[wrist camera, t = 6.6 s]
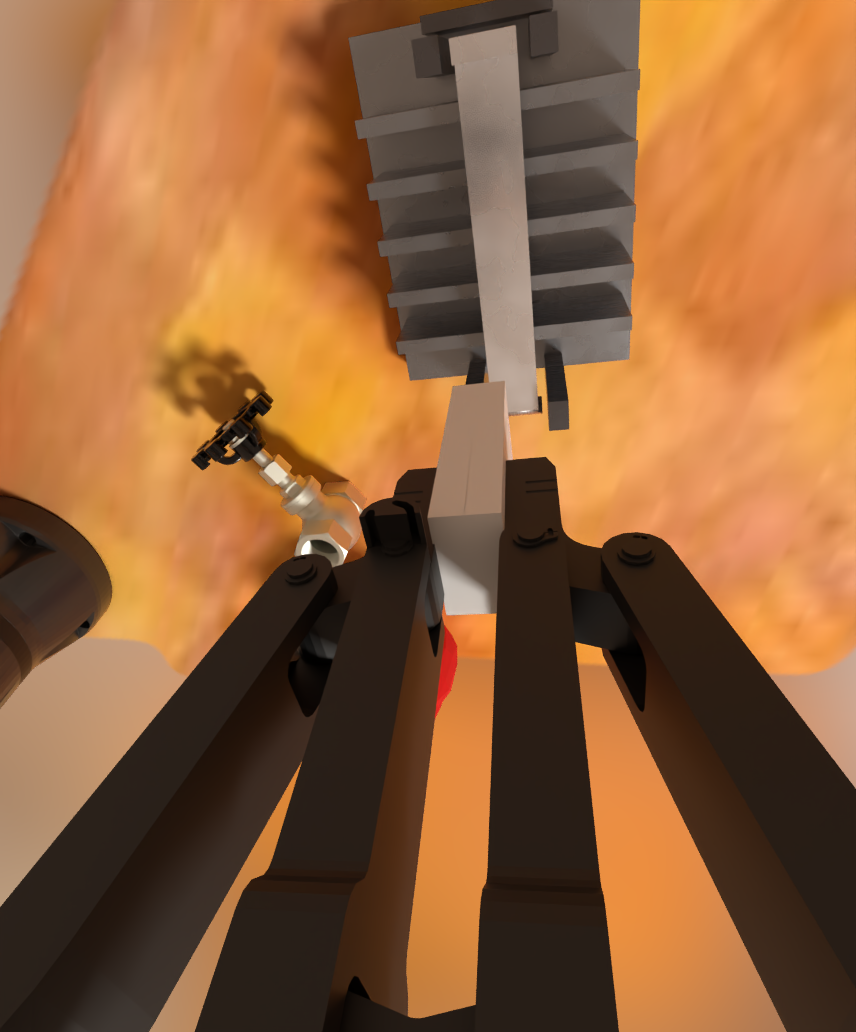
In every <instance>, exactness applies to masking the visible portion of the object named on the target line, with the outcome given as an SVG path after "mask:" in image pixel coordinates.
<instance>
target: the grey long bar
mask: <svg viewBox="0 0 856 1032" xmlns="http://www.w3.org/2000/svg"><path fill="white" fill-rule="evenodd" d="M449 46H450V55H451V64H452V66H453V65H455V75H456V84H457V93H458V102H459V111H460V120H461V130H462V139H463V148H464V157H465V166H466V176H467V185H468V194H469V203H470V212H471V221H472V231H473V240H474V249H475V258H476V267H477V277H478V286H479V295H480V304H481V313H482V322H483V332H484V341H485V350H486V359H487V368H488V377H489V382H497V381H505V386H506V396H507V407H508V416H518V415H530V414H542V397H541V396H539V397H538V395H537V378H536V360H535V343H534V326H533V309H532V292H531V275H530V257H529V240H528V223H527V206H526V189H525V172H524V155H523V137H522V120H521V103H520V86H519V69H518V52H517V35H516V25H513V26H508V27H503V28H498V29H493V30H488V31H483V32H478V33H473V34H468V35H463V36H458V37H453V38H449Z"/></svg>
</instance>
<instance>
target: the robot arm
mask: <svg viewBox="0 0 856 1032" xmlns="http://www.w3.org/2000/svg"><path fill="white" fill-rule="evenodd" d="M359 520H360V524H361V527H362V531H363V535H364V538H365V542H366V545H367V550H366V554H365V556H364V557H362V558H360V559H358V560H355V561H352V562H349V563H345V564H342V565H338V566H335V567H332V564H331V561H330V560H329V559H327V558H326V557H325V556H322V555H319V554H304V555H300V556H296V557H293V558H291V559H289V560H287V561H286V562H284V563H282V564H281V565H280V566H279V567H278V568H277V569H276V570H275V571H274V572H273V573H272V574H271V576H270V577H269V578H268V579H267V581H266V582H265V583H264V584H263V585H262V587H261V588H260V589H259V590H258V592H257V593H256V594H255V595H254V597H253V598H252V599H251V600H250V601H249V603H248V604H247V605H246V606H245V608H244V609H243V610H242V611H241V612H240V614H239V615H238V616H237V617H236V619H235V620H234V621H233V622H232V623H231V625H230V626H229V627H228V628H227V630H226V631H225V632H224V633H223V635H222V636H221V637H220V638H219V639H218V641H217V642H216V643H215V644H214V646H213V647H212V648H211V649H210V650H209V652H208V653H207V654H206V655H205V657H204V658H203V659H202V660H201V662H200V663H199V664H198V665H197V666H196V668H195V669H194V670H193V671H192V673H191V674H190V675H189V676H188V677H187V679H186V680H185V681H184V682H183V684H182V685H181V686H180V687H179V689H178V690H177V691H176V693H174V695H173V696H172V697H171V698H170V700H169V701H168V702H167V704H165V706H164V707H163V708H162V710H161V711H160V712H159V713H158V714H157V715H156V717H155V718H154V719H153V720H152V722H151V723H150V724H149V725H148V727H147V728H146V729H145V730H144V731H143V733H142V734H141V735H140V736H139V738H138V739H137V740H136V741H135V743H134V744H133V745H132V746H131V748H130V749H129V750H128V751H127V752H126V754H125V755H124V756H123V757H122V759H121V760H120V761H119V762H118V763H117V765H116V766H115V767H114V768H113V769H112V771H111V772H110V773H109V774H108V776H107V777H106V778H105V779H104V781H103V782H102V783H101V784H100V785H99V787H98V788H97V789H96V790H95V792H94V793H93V794H92V795H91V797H90V798H89V799H88V800H87V801H86V803H85V804H84V805H83V806H82V808H81V809H80V810H79V811H78V812H77V814H76V815H75V816H74V817H73V819H72V820H71V821H70V822H69V824H68V825H67V826H66V827H65V828H64V830H63V831H62V832H61V833H60V835H59V836H58V837H57V838H56V840H55V841H54V842H53V843H52V844H51V846H50V847H49V848H48V849H47V851H46V852H45V853H44V854H43V855H42V857H41V858H40V859H39V860H38V862H37V863H36V864H35V865H34V866H33V868H32V869H31V870H30V871H29V873H28V874H27V875H26V876H25V877H24V879H23V880H22V881H21V882H20V884H19V885H18V886H17V887H16V888H15V890H14V891H13V892H12V893H11V895H10V896H9V897H8V898H7V899H6V901H5V902H4V903H3V904H2V906H1V907H0V1032H149V1031H150V1029H151V1027H152V1026H153V1024H154V1022H155V1021H156V1019H157V1017H158V1015H159V1014H160V1012H161V1010H162V1008H163V1007H164V1005H165V1003H166V1001H167V1000H168V998H169V996H170V994H171V992H172V991H173V989H174V987H175V985H176V984H177V982H178V980H179V978H180V976H181V975H182V973H183V971H184V969H185V967H186V966H187V964H188V962H189V960H190V959H191V957H192V955H193V953H194V952H195V950H196V948H197V946H198V945H199V943H200V941H201V939H202V937H203V935H204V934H205V932H206V930H207V929H208V927H209V925H210V923H211V921H212V920H213V918H214V916H215V914H216V913H217V911H218V909H219V907H220V905H221V904H222V902H223V900H224V898H225V896H226V895H227V893H228V891H229V890H230V888H231V886H232V884H233V882H234V881H235V879H236V877H237V875H238V873H239V872H240V870H241V868H242V866H243V865H244V863H245V861H246V859H247V858H248V856H249V854H250V852H251V850H252V848H253V847H254V845H255V843H256V842H257V840H258V838H259V836H260V834H261V833H262V831H263V829H264V827H265V826H266V824H267V822H268V820H269V819H270V817H271V815H272V813H273V811H274V810H275V808H276V806H277V804H278V802H279V801H280V799H281V797H282V795H283V794H284V792H285V790H286V788H287V787H288V785H289V783H290V781H291V779H292V778H293V776H294V774H295V772H296V771H297V769H298V767H299V765H300V763H301V762H302V764H301V767H300V770H299V773H298V777H297V780H296V784H295V787H294V790H293V793H292V797H291V800H290V803H289V806H288V810H287V813H286V817H285V819H284V823H283V826H282V829H281V833H280V836H279V839H278V842H277V846H276V849H275V852H274V855H273V859H272V861H271V864H270V866H269V868H268V870H267V871H266V873H265V874H264V875H262V876H259V877H257V878H255V879H252V880H251V881H250V882H249V884H248V885H247V887H246V888H245V889H244V890H243V892H242V895H241V897H240V899H239V902H238V904H237V906H236V909H235V912H234V915H233V918H232V921H231V924H230V927H229V930H228V933H227V936H226V939H225V942H224V945H223V948H222V951H221V954H220V957H219V960H218V963H217V966H216V969H215V972H214V975H213V978H212V981H211V984H210V987H209V990H208V993H207V996H206V999H205V1003H204V1005H203V1009H202V1011H201V1015H200V1017H199V1020H198V1024H197V1027H196V1029H195V1032H619V1029H618V1020H617V1011H616V1001H615V991H614V983H613V973H612V965H611V956H610V955H611V954H610V945H609V936H608V927H607V918H606V910H605V903H604V895H603V891H602V888H601V882H600V873H599V864H598V855H597V845H596V835H595V826H594V817H593V807H592V798H591V788H590V779H589V769H588V759H587V750H586V740H585V731H584V721H583V712H582V703H581V693H580V683H579V674H578V664H577V655H576V645H575V642H578V643H582V644H587V645H591V646H595V647H600V648H602V652H603V656H604V658H605V660H606V662H607V664H608V666H609V668H610V670H611V672H612V675H613V676H614V678H615V681H616V683H617V685H618V687H619V689H620V691H621V693H622V695H623V697H624V699H625V701H626V703H627V705H628V707H629V709H630V711H631V713H632V715H633V717H634V720H635V722H636V724H637V726H638V728H639V730H640V732H641V734H642V736H643V738H644V740H645V742H646V744H647V746H648V748H649V750H650V752H651V754H652V756H653V759H654V761H655V762H656V765H657V767H658V768H659V771H660V773H661V775H662V777H663V779H664V781H665V783H666V785H667V787H668V789H669V791H670V793H671V795H672V797H673V800H674V802H675V804H676V806H677V808H678V810H679V812H680V814H681V816H682V818H683V820H684V822H685V824H686V826H687V828H688V830H689V832H690V834H691V836H692V838H693V840H694V842H695V845H696V847H697V849H698V851H699V853H700V855H701V857H702V858H703V861H704V863H705V865H706V867H707V869H708V871H709V873H710V875H711V877H712V879H713V881H714V883H715V886H716V887H717V890H718V892H719V894H720V896H721V898H722V900H723V902H724V904H725V906H726V908H727V910H728V912H729V914H730V916H731V918H732V920H733V922H734V924H735V926H736V929H737V930H738V933H739V935H740V937H741V939H742V941H743V943H744V945H745V947H746V949H747V951H748V953H749V955H750V957H751V959H752V961H753V963H754V965H755V967H756V970H757V972H758V974H759V976H760V978H761V980H762V982H763V984H764V986H765V988H766V990H767V992H768V994H769V996H770V998H771V1000H772V1002H773V1004H774V1006H775V1008H776V1010H777V1013H778V1015H779V1017H780V1019H781V1021H782V1023H783V1025H784V1027H785V1029H786V1031H787V1032H856V789H855V787H854V786H853V785H852V783H851V782H850V781H849V779H848V778H847V777H846V776H845V774H844V773H843V772H842V770H841V769H840V768H839V766H838V765H837V764H836V762H835V761H834V760H833V759H832V757H831V756H830V755H829V753H828V752H827V751H826V749H825V748H824V747H823V745H822V744H821V743H820V742H819V740H818V739H817V738H816V736H815V735H814V734H813V732H812V731H811V730H810V728H809V727H808V726H807V724H806V723H805V722H804V721H803V719H802V718H801V717H800V716H799V714H798V713H797V711H796V710H795V709H794V708H793V706H792V705H791V704H790V702H789V701H788V700H787V698H786V697H785V696H784V694H783V693H782V692H781V690H780V689H779V688H778V687H777V685H776V684H775V683H774V681H773V680H772V679H771V677H770V676H769V675H768V673H767V672H766V671H765V669H764V668H763V667H762V666H761V664H760V663H759V662H758V660H757V659H756V658H755V656H754V655H753V654H752V652H751V651H750V650H749V649H748V647H747V646H746V645H745V643H744V642H743V641H742V639H741V638H740V637H739V635H738V634H737V633H736V632H735V630H734V629H733V628H732V626H731V625H730V624H729V622H728V621H727V620H726V618H725V617H724V616H723V615H722V613H721V612H720V611H719V609H718V608H717V607H716V605H715V604H714V603H713V601H712V600H711V599H710V598H709V596H708V595H707V594H706V592H705V591H704V590H703V588H702V587H701V586H700V584H699V583H698V582H697V581H696V579H695V578H694V577H693V575H692V574H691V573H690V571H689V570H688V569H687V567H686V566H685V565H684V563H683V562H682V561H681V560H680V558H679V557H678V556H677V554H676V553H675V552H674V550H673V549H672V548H671V546H670V545H668V544H667V543H666V542H665V541H664V540H662V539H661V538H658V537H656V536H653V535H651V534H645V533H638V532H635V533H623V534H620V535H617V536H615V537H612V538H610V539H609V540H608V541H607V542H605V543H604V545H603V547H602V548H597V547H591V546H587V545H583V544H580V543H578V542H576V541H574V540H572V539H571V538H569V537H568V536H567V535H566V534H565V532H564V531H563V528H562V523H561V514H560V505H559V496H558V486H557V477H556V468H555V466H554V465H553V464H552V463H551V462H550V461H549V460H548V459H547V458H546V457H540V458H528V459H516V460H513V458H512V447H511V437H510V427H509V417H508V407H507V396H506V386H505V381H497V382H488V383H479V384H470V385H460V386H453V388H452V394H451V399H450V404H449V409H448V414H447V419H446V424H445V430H444V435H443V440H442V445H441V450H440V455H439V460H438V466H437V468H426V469H414V470H408V471H407V472H406V473H405V474H404V475H403V476H402V477H401V478H400V479H399V480H398V481H397V485H396V488H395V492H394V495H393V498H387V499H382V500H380V501H377V502H375V503H372V504H371V505H369V506H368V507H367V508H365V509H364V510H363V511H362V513H361V514H360V516H359ZM111 598H112V585H111V580H110V577H109V574H108V571H107V569H106V567H105V565H104V563H103V562H102V560H101V558H100V557H99V555H98V554H97V553H96V551H95V550H94V549H93V548H92V546H91V545H90V544H89V543H88V542H87V541H86V540H85V539H84V538H83V537H82V536H81V535H80V534H79V533H78V532H76V531H75V530H74V529H73V528H71V527H70V526H69V525H67V524H66V523H65V522H63V521H62V520H60V519H59V518H57V517H55V516H54V515H52V514H50V513H49V512H47V511H45V510H43V509H41V508H39V507H36V506H34V505H32V504H29V503H26V502H23V501H20V500H17V499H13V498H9V497H4V496H0V708H1V707H2V706H3V705H4V704H5V702H6V701H7V700H8V699H9V697H10V696H11V695H12V694H13V692H14V691H15V690H16V689H17V687H18V686H19V685H20V684H21V682H22V681H23V680H24V679H25V678H26V676H27V675H28V674H29V673H30V672H31V671H32V669H34V668H35V667H36V666H38V665H39V664H41V663H42V662H44V661H45V660H47V659H49V658H50V657H52V656H53V655H55V654H56V653H58V652H59V651H61V650H62V649H64V648H65V647H67V646H69V645H70V644H72V643H73V642H75V641H76V640H78V639H79V638H81V637H82V636H84V635H85V634H87V633H88V632H89V631H90V630H91V629H92V628H93V627H94V626H95V625H96V623H97V622H98V621H99V619H100V618H101V617H102V616H103V614H104V613H105V612H106V610H107V609H108V607H109V605H110V602H111ZM443 602H444V604H445V609H446V614H447V615H466V614H492V613H497V617H496V646H495V675H494V703H493V732H492V761H491V789H490V817H489V845H488V872H487V880H486V884H485V886H484V888H483V890H482V896H481V905H480V919H479V942H478V965H477V989H476V1005H473V1006H470V1007H465V1008H462V1009H457V1010H453V1011H449V1012H445V1013H441V1014H437V1015H433V1016H429V1017H425V1018H410V1017H408V991H407V976H406V958H407V948H408V940H409V931H410V922H411V914H412V906H413V897H414V889H415V880H416V872H417V864H418V856H419V855H418V854H419V847H420V839H421V830H422V822H423V813H424V805H425V797H426V787H427V780H428V771H429V763H430V754H431V746H432V737H433V729H434V721H435V712H436V704H437V696H438V687H439V679H440V670H441V662H442V654H443V645H444V637H445V629H444V623H443V618H442V610H443Z"/></svg>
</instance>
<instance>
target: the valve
mask: <svg viewBox="0 0 856 1032" xmlns="http://www.w3.org/2000/svg"><path fill="white" fill-rule="evenodd" d="M272 402H273V399H272V398H271V397H270V396H269V395H268V394H267V393H266V392H265V391H264V390H261V391H260V392H259V393H258V394H257V395H255V396H254V398H253V399H252V400H251V402H250V401H247V402H245V403H244V404H243V405H242V406H241V407H240V408H239V409H238V411H237V412H238V413H237V414H236V415H235V416H234V417H233V418H232V419H231V420H229V421H225V422H224V423H222V424H221V425H220V426H219V427H218V428H217V429H216V431H215V432H216V434H215V435H214V436H213V437H212V438H211V439H210V440H207V441H206V442H204V443H203V444H202V445H201V446H200V447H199V448H198V449H197V453H196V454H195V455H194V456H193V457H192V459H191V461H192V462H193V463H195V464H196V465H197V466H198V467H199V468H200V469H201V470H204V469H206V468H207V467H208V466H209V465H210V463H209V462H208V461H209V460H210V459H211V458H212V459H213V460H214V461H215V462H219V463H221V464H225V465H231V464H234V463H236V462H238V461H239V460H240V459H241V458H242V459H243V460H244V461H245V462H248V461H250V460H251V459H254V460H255V461H256V462H257V463H258V464H259V465H260V466H261V468H260V470H259V473H258V474H259V475H260V476H262V477H263V478H264V479H265V480H266V481H267V482H268V483H269V484H270V485H271V486H274V485H277V484H278V485H279V486H280V487H281V490H280V495H282V496H283V497H284V498H283V499H282V501H281V506H282V507H283V508H284V509H285V510H286V511H287V512H288V513H289V514H290V515H295V514H297V515H298V516H299V517H300V518H301V519H302V532H301V534H300V537H299V540H298V543H297V546H296V549H295V553H294V555H295V556H300V555H304V554H319V555H322V556H325V557H326V558H327V559H329V560H330V561H331V564H332V567H335V566H338V565H342V564H343V562H344V560H345V557H346V555H347V552H348V550H350V549H351V548H352V547H353V546H354V545H355V543H356V542H357V541H358V539H359V537H360V534H361V530H362V527H361V524H360V520H359V516H360V514H361V513H362V511H363V508H364V506H365V503H366V500H367V498H366V497H365V496H364V495H363V494H362V493H361V492H360V491H359V490H358V489H357V488H356V487H355V486H354V485H353V484H352V483H351V482H350V481H341V482H329V483H325V484H324V486H323V489H322V491H320V489H321V484H320V483H319V482H318V481H317V480H316V479H315V478H314V477H313V476H312V475H308V476H306V477H304V478H303V477H302V476H301V475H295V476H293V475H292V474H291V473H290V470H291V468H292V466H291V465H290V464H289V463H288V462H287V461H286V460H284V459H283V458H282V457H281V456H280V455H279V454H276V455H274V456H271V455H270V454H269V453H268V452H267V451H266V450H265V449H264V448H263V447H264V446H265V445H266V443H267V441H266V440H265V439H264V438H263V437H262V435H261V429H260V426H259V425H258V423H257V422H256V421H255V419H254V417H255V416H256V415H257V414H258V413H259V414H260V415H261V416H264V415H265V414H266V413H267V412H268V411H269V410H270V409H271V407H272V406H271V405H270V404H271V403H272ZM227 444H230V446H229V447H230V448H231V449H232V450H233V451H234V452H235V453H233V454H232V455H231V456H224V455H225V454H226V453H227V451H228V450H227V449H226V448H224V447H225V446H226V445H227Z"/></svg>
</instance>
